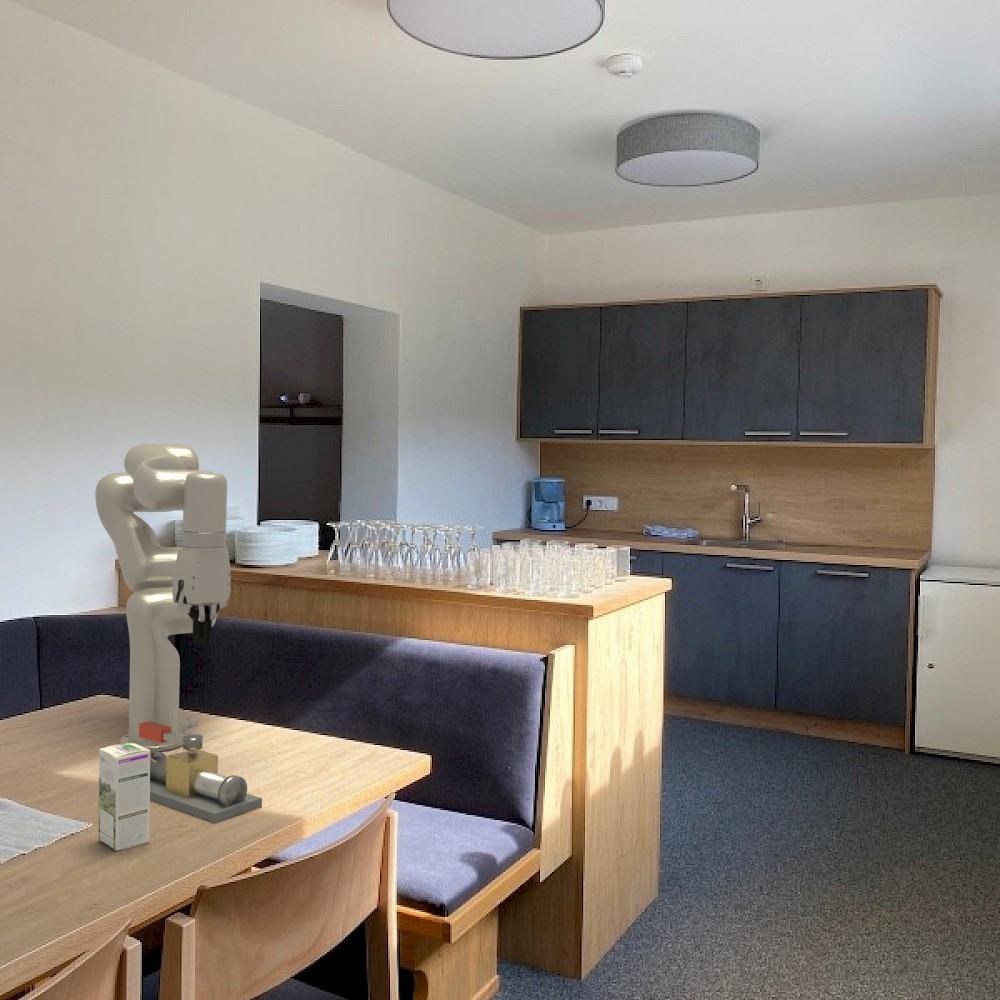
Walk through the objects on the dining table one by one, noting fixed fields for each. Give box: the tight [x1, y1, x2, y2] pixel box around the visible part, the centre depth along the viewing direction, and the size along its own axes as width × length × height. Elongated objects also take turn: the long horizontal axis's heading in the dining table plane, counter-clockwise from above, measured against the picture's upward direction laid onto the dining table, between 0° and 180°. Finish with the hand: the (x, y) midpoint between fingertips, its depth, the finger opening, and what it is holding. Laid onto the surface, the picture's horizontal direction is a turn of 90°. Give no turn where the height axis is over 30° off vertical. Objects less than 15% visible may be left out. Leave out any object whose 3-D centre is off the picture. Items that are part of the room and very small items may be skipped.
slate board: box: [150, 779, 263, 824], centre depth 177 cm, size 10×24×2 cm, turn 55°
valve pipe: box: [150, 749, 248, 807], centre depth 177 cm, size 6×22×7 cm, turn 55°
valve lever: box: [139, 721, 204, 756], centre depth 180 cm, size 15×3×3 cm, turn 56°
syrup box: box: [98, 742, 151, 851], centre depth 157 cm, size 6×6×14 cm
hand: (201, 641), depth 187 cm, fingers closed
